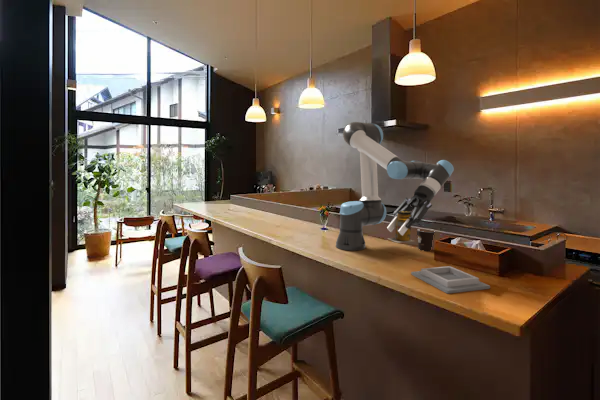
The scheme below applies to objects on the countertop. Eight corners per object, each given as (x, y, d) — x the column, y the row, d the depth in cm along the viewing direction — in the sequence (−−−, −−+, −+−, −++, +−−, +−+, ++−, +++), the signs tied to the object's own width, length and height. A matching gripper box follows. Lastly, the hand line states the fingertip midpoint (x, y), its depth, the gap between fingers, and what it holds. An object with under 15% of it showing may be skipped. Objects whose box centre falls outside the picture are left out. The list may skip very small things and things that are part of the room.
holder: (411, 274, 130) (411, 266, 130) (449, 270, 135) (449, 263, 135) (447, 293, 111) (447, 284, 111) (489, 288, 116) (490, 280, 116)
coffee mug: (435, 252, 164) (436, 232, 163) (417, 251, 166) (418, 231, 164) (431, 246, 175) (432, 228, 174) (414, 245, 177) (415, 227, 176)
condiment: (414, 241, 135) (416, 212, 134) (398, 243, 132) (399, 213, 130) (402, 237, 142) (404, 209, 140) (386, 239, 138) (388, 210, 137)
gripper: (449, 199, 132) (416, 242, 127) (414, 194, 150) (384, 232, 144) (440, 186, 130) (406, 230, 125) (406, 183, 147) (374, 221, 142)
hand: (394, 231), depth 135 cm, fingers closed on condiment, 6 cm apart
